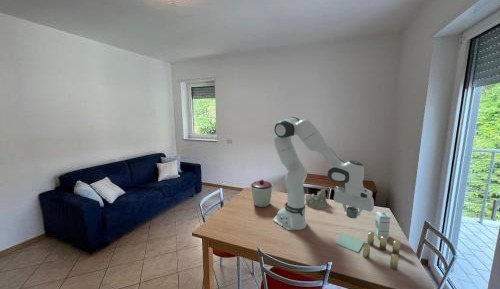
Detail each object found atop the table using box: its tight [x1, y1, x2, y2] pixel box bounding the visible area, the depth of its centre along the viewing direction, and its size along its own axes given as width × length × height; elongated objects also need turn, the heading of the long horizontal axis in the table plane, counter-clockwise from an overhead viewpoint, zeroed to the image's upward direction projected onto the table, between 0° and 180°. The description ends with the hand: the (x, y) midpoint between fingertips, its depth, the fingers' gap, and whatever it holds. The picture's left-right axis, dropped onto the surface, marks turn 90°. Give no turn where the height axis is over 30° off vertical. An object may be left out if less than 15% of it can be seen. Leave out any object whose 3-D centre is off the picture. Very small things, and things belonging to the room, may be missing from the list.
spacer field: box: [362, 230, 401, 272], centre depth 110 cm, size 16×16×7 cm
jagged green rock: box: [304, 189, 328, 210], centre depth 168 cm, size 16×16×15 cm
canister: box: [250, 179, 274, 208], centre depth 169 cm, size 18×18×21 cm
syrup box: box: [374, 211, 391, 240], centre depth 125 cm, size 6×6×14 cm
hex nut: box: [345, 206, 359, 220], centre depth 117 cm, size 6×5×5 cm
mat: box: [335, 233, 365, 254], centre depth 121 cm, size 12×12×1 cm
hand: (352, 213), depth 117 cm, fingers closed on hex nut, 5 cm apart
